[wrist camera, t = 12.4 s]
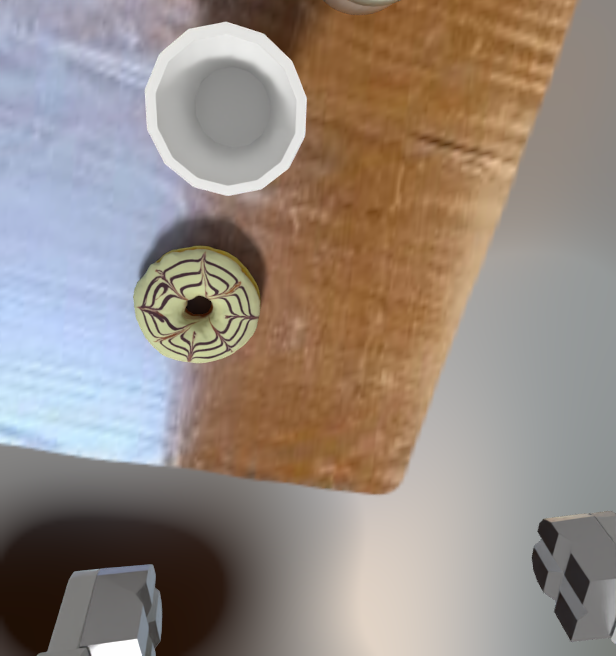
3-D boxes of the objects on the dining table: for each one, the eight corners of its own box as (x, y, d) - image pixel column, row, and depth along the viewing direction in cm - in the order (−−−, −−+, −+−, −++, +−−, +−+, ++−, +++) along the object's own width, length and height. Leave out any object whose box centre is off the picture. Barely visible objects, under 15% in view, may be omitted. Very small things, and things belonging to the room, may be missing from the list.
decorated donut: (114, 287, 50) (104, 302, 46) (209, 216, 48) (206, 226, 45) (190, 371, 53) (186, 390, 50) (281, 307, 52) (283, 322, 48)
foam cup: (171, 37, 42) (140, 16, 30) (293, 45, 43) (309, 27, 31) (176, 167, 46) (150, 193, 34) (289, 171, 47) (302, 198, 35)
